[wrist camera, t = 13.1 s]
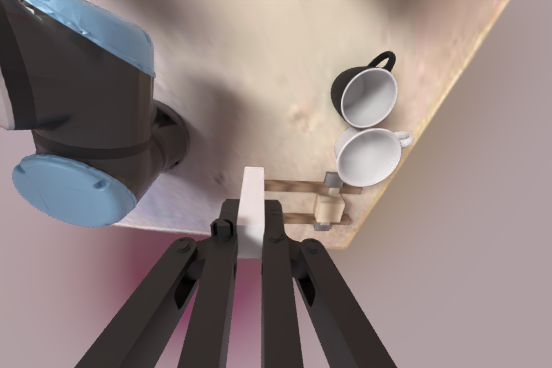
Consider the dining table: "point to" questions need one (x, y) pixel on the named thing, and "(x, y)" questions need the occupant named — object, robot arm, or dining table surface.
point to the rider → (328, 207)
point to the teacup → (368, 154)
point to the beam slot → (330, 185)
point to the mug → (366, 92)
